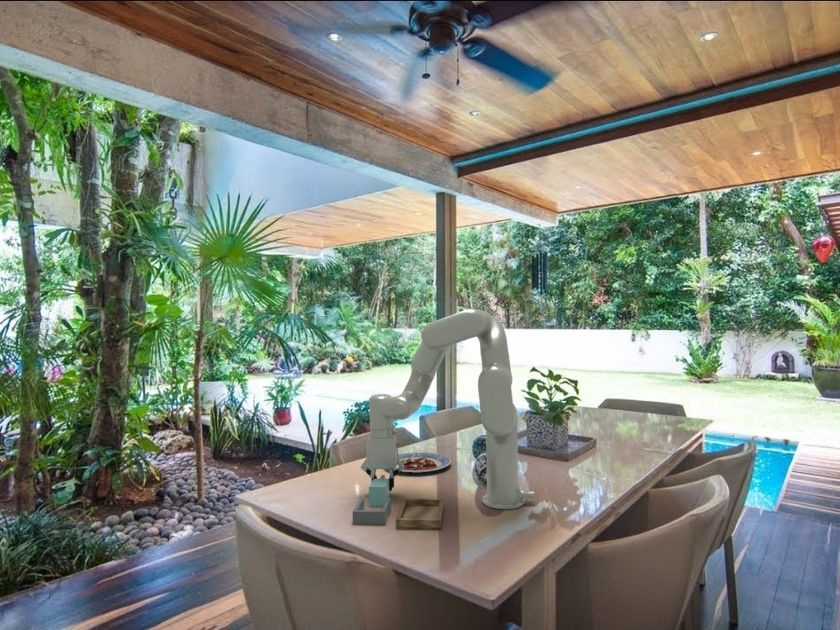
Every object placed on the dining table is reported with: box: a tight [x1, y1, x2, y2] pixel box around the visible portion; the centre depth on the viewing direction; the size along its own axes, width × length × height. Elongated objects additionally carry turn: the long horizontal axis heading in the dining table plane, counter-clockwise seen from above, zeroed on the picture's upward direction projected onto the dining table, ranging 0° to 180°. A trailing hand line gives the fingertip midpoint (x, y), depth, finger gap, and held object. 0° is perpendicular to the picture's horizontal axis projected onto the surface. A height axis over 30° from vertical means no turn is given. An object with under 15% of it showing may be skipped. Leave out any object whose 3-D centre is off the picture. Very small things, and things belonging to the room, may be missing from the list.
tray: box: [395, 497, 444, 531], centre depth 146 cm, size 12×16×2 cm
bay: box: [352, 497, 392, 526], centre depth 147 cm, size 9×11×4 cm
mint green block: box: [368, 474, 390, 508], centre depth 161 cm, size 5×12×6 cm, turn 175°
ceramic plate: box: [394, 452, 452, 474], centre depth 197 cm, size 26×26×3 cm
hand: (383, 489), depth 165 cm, fingers open, 4 cm apart
